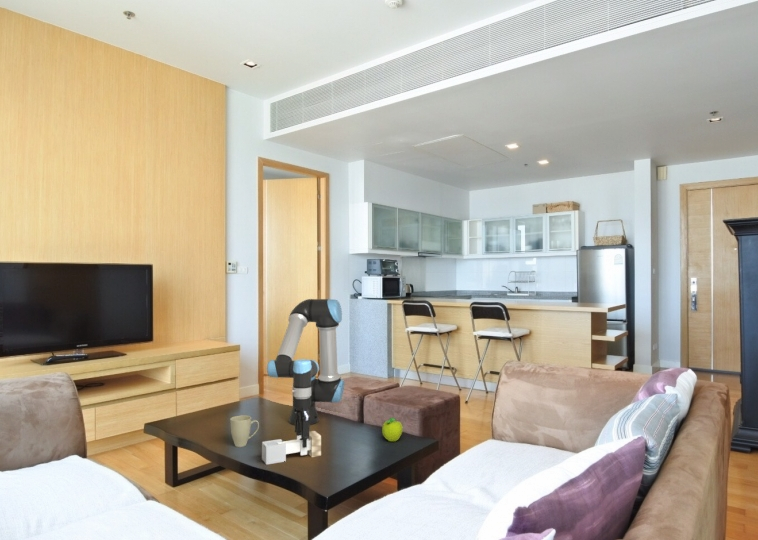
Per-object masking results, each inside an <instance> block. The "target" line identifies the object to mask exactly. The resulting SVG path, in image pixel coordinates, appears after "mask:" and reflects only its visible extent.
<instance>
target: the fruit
mask: <svg viewBox="0 0 758 540" xmlns="http://www.w3.org/2000/svg"><path fill="white" fill-rule="evenodd" d="M403 428H404V427H403V425H402V423H401V422H400V421H396V418H394V417H390V418H389V419H388V420H385V421H384V423H383V424H382V427H381V431H382V432H381V433H382V436H383V437H384V438H385V439H386V440H387V441H388V442H397V441H398V440H399V439H400V437H401V435H402V434H403V431H404V430H403Z"/></svg>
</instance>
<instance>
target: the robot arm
mask: <svg viewBox="0 0 758 540" xmlns="http://www.w3.org/2000/svg"><path fill="white" fill-rule="evenodd" d="M342 312H343V311H342V306H341V303H340V301H339V300H338V299H331V298H315V299H314V298H309V299H305V300H302V301H301V302H299V303H297V305H296V306H295V307H294V308H293V309H292V311H290V313H289V315H288V325H287V327H286V331H285V334H284V336H283V339H282V341H281V344H280V347H279V349H278V352H277V356H276V358H275V359H270V360H269V361H268V363H267V366H266V367H267V368H266V371H267V376H269V377H271V378H277V379H278V378H281V379H283V378H285V379H286V378H291V379H292V380H293V381H292V390H291V392H292V407H291V411H290V415H289V418H288V423H289V424H291V425H293V426H294V433H295V436H296V439H300V452H299V453H300V454H299V455H300V456H306V455H308V453H307V439H309V431H310V425H314V424H317V423H319V414H318V411H317V408H316V403H340V402H341V401H342V399H343V396H344V395H343V394H344V390H345V379H342V377H341V374H339V372H338V352H337V349H338V348H337V328H338V326H339V324H340V323H341V322H342V320H343V313H342ZM308 323H315V327H316V328H317V329H318V334H319V335H318V337H319V338H318V339H319V360H320V362H319V363H320V365H319V363H318V362H317V361H316V360H314V359H304V358H303V359H301V358H299V359H296V360H294V358H295V355H296V352H297V348H298V345H299V343H300V340H301V338H302V333H303V331H304V328H305V327H306V326H307V325H308ZM319 371H320V374H319V375H318V377H316V376H317V374H318V373H319Z"/></svg>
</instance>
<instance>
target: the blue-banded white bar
mask: <svg viewBox="0 0 758 540" xmlns="http://www.w3.org/2000/svg"><path fill="white" fill-rule="evenodd" d="M282 443H286V455H289V454H296V453H300V439H297V438H296V439H290V440H286V441H284V440H282V442H277V444H282ZM308 450H311V439H310V438H309V439H307V451H308Z"/></svg>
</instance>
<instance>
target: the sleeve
mask: <svg viewBox="0 0 758 540" xmlns="http://www.w3.org/2000/svg"><path fill="white" fill-rule="evenodd" d="M277 442H283V440H282V439H281V438H279V439H273V440H265V441H262V442H261V460H262V461H263V462H264V464H265V465H272V464H277V463H278V464H279V463H284V461H285V462H286V461H287V454H286V443H282V444H277Z"/></svg>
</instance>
